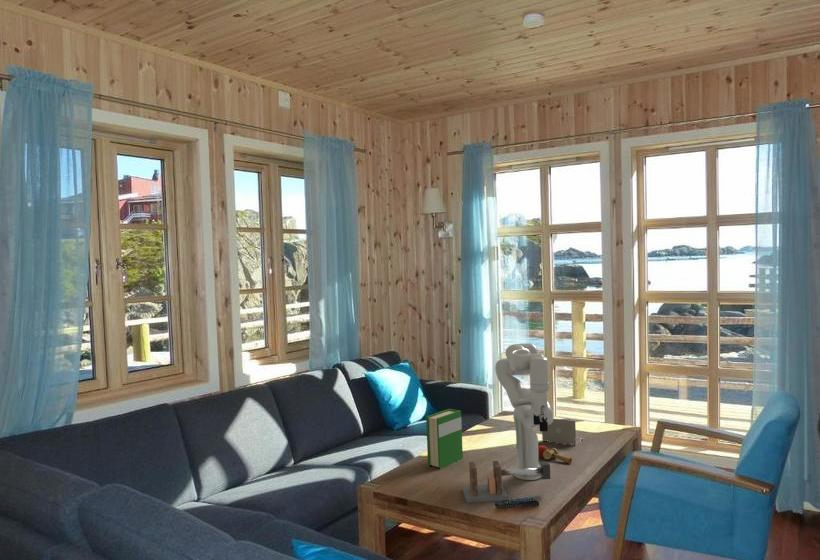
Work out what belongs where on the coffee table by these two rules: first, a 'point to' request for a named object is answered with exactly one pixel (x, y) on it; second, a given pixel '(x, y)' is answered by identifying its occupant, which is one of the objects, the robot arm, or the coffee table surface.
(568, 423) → the laptop
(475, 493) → the stand
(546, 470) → the shaft
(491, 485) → the collar
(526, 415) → the robot arm
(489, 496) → the base board
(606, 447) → the coffee table surface
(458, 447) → the hardback book
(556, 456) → the kendama
